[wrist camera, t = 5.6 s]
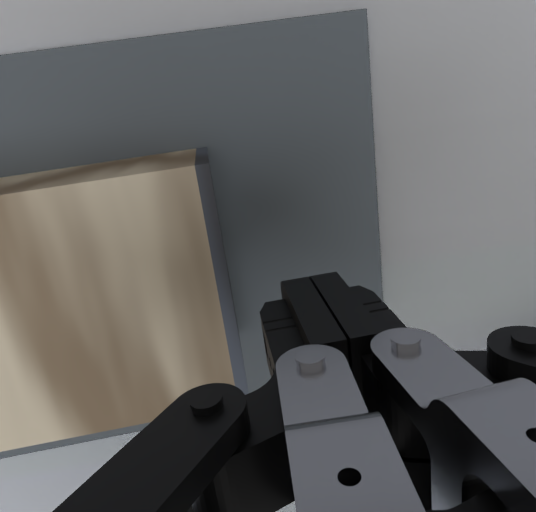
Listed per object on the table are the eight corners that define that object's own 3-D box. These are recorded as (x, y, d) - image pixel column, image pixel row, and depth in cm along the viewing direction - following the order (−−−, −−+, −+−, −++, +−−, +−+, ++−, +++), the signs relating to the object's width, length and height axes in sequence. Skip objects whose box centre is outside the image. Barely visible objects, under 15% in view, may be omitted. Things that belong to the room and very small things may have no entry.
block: (209, 163, 13) (-299, 240, 12) (250, 402, 16) (-162, 483, 14) (206, 147, 18) (-157, 201, 17) (238, 332, 20) (-73, 390, 19)
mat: (363, 10, 17) (366, 8, 17) (385, 378, 22) (387, 381, 22) (-217, 84, 15) (-225, 83, 15) (-47, 463, 21) (-50, 468, 20)
